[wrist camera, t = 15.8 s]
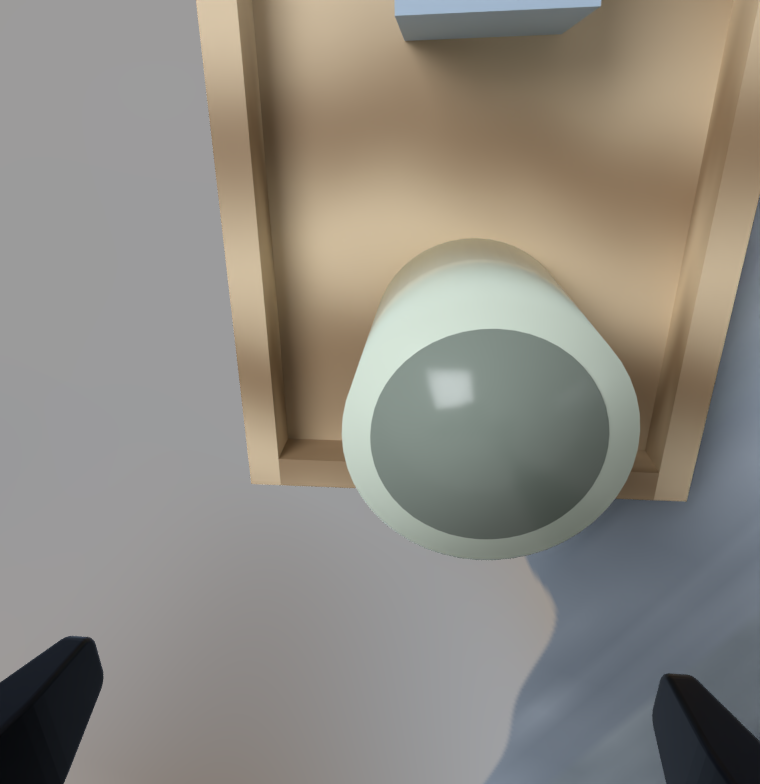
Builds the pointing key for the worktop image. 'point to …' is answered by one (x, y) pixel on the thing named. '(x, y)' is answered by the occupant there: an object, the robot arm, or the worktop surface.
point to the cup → (487, 407)
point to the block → (488, 17)
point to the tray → (480, 196)
